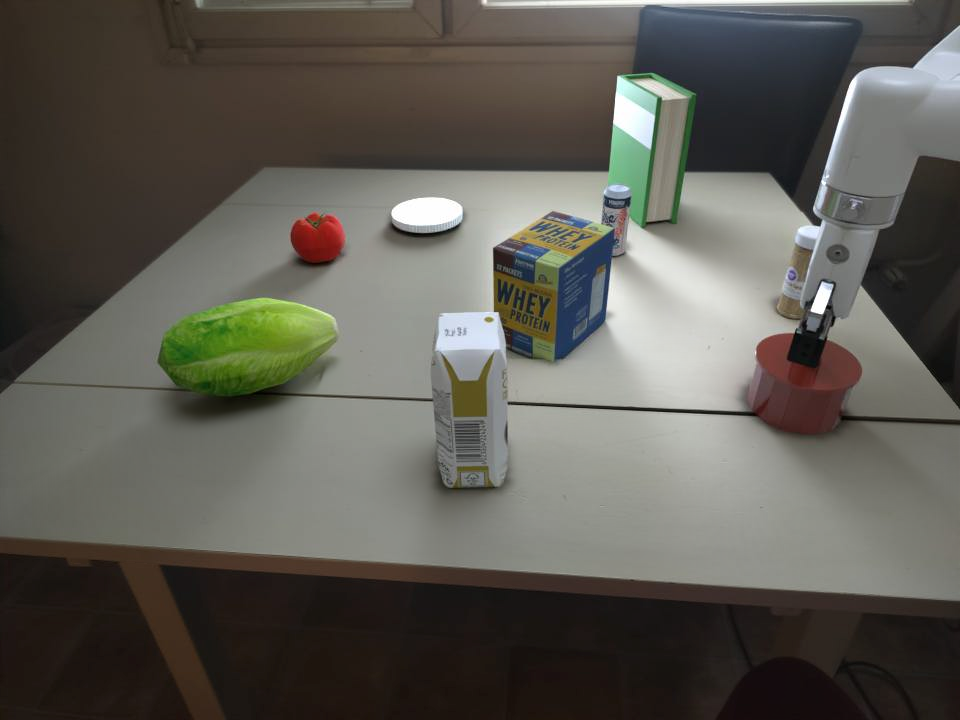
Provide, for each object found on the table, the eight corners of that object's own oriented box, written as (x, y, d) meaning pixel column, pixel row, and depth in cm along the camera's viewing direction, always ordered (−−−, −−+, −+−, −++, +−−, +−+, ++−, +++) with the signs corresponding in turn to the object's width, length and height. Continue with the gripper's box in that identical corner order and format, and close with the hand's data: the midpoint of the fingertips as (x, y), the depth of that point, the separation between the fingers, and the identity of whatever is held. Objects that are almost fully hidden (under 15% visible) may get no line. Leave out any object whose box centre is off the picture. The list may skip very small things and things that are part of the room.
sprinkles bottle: (769, 310, 103) (791, 229, 95) (788, 301, 105) (810, 221, 97) (795, 323, 100) (820, 240, 92) (814, 314, 101) (839, 232, 94)
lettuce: (352, 391, 89) (339, 316, 82) (170, 432, 83) (140, 355, 76) (336, 341, 99) (323, 270, 92) (172, 375, 93) (146, 302, 86)
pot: (818, 386, 87) (835, 338, 83) (852, 441, 78) (872, 391, 74) (736, 385, 88) (748, 338, 83) (760, 440, 79) (774, 390, 75)
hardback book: (676, 223, 130) (696, 94, 116) (641, 227, 129) (657, 97, 115) (639, 190, 144) (653, 72, 130) (606, 194, 143) (617, 75, 129)
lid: (836, 340, 83) (852, 294, 80) (877, 398, 74) (897, 349, 70) (742, 339, 84) (753, 294, 80) (770, 397, 75) (784, 348, 71)
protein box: (492, 344, 97) (490, 247, 88) (549, 300, 107) (553, 209, 98) (553, 369, 92) (558, 268, 83) (607, 320, 101) (617, 225, 92)
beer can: (593, 253, 120) (599, 189, 113) (605, 243, 123) (611, 180, 116) (618, 259, 118) (625, 194, 111) (629, 249, 121) (637, 185, 114)
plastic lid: (410, 243, 125) (409, 231, 124) (381, 218, 135) (380, 206, 134) (475, 227, 131) (474, 215, 129) (443, 204, 141) (442, 192, 139)
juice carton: (439, 498, 73) (426, 355, 62) (442, 445, 80) (431, 308, 69) (508, 497, 72) (508, 353, 61) (505, 443, 79) (505, 306, 69)
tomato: (351, 246, 125) (346, 209, 120) (339, 268, 118) (332, 229, 113) (303, 245, 126) (296, 208, 121) (287, 267, 118) (279, 228, 114)
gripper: (888, 241, 59) (832, 392, 69) (907, 181, 71) (857, 318, 81) (799, 223, 63) (758, 370, 73) (832, 169, 75) (792, 301, 85)
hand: (810, 342), depth 77 cm, fingers open, 9 cm apart
